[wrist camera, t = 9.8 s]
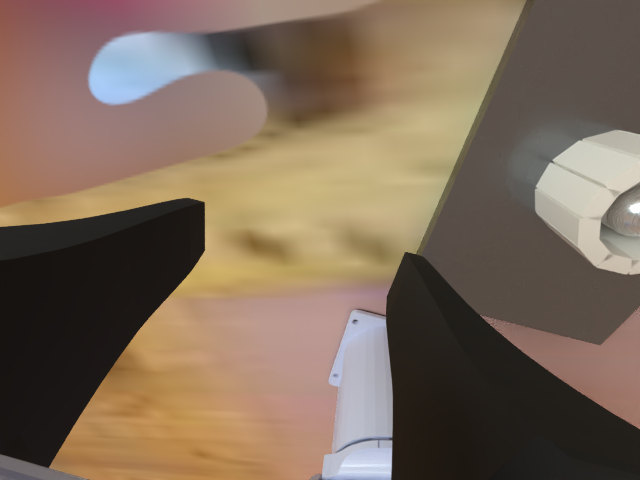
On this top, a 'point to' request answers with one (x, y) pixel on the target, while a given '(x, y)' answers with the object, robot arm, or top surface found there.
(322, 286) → the top surface
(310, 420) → the top surface
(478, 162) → the steel tile with stud
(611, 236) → the ring
